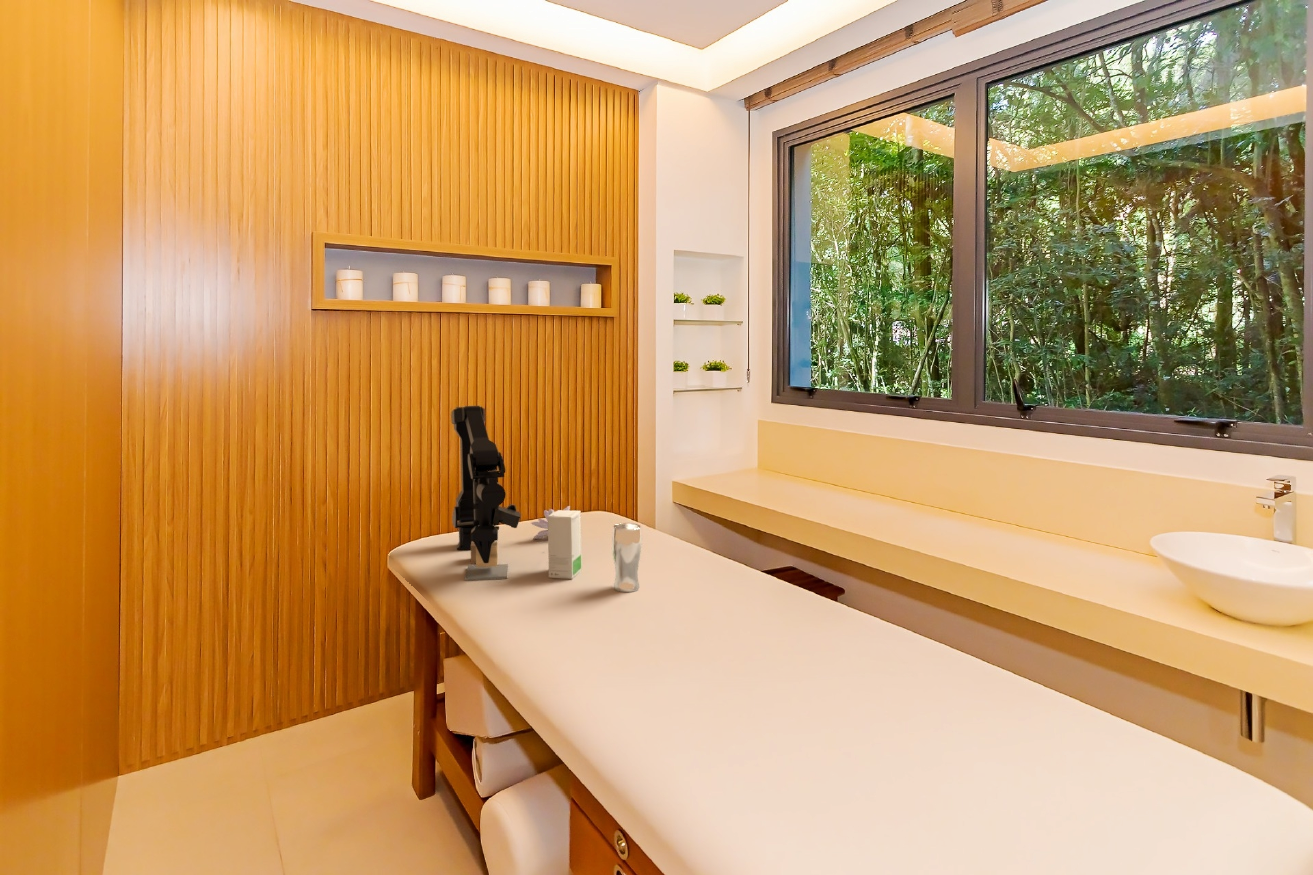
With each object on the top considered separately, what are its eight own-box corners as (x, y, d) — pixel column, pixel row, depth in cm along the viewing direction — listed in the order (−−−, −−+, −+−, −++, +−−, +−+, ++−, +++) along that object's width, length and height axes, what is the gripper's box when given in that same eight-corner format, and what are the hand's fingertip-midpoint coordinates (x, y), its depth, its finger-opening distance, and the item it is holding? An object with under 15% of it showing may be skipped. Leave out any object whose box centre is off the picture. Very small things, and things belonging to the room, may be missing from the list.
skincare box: (572, 579, 177) (571, 517, 175) (546, 577, 178) (545, 516, 176) (582, 569, 185) (582, 509, 183) (557, 567, 186) (557, 508, 184)
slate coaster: (468, 568, 185) (467, 565, 185) (507, 566, 187) (507, 564, 187) (464, 580, 176) (464, 578, 176) (507, 578, 177) (506, 576, 177)
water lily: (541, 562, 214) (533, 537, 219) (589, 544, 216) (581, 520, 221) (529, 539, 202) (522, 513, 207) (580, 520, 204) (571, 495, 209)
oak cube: (477, 561, 183) (477, 541, 182) (497, 560, 184) (497, 541, 183) (476, 567, 178) (475, 547, 178) (497, 566, 179) (496, 546, 178)
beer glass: (611, 583, 175) (611, 522, 173) (640, 582, 175) (640, 522, 173) (612, 593, 168) (612, 530, 166) (642, 592, 169) (642, 529, 167)
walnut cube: (472, 558, 194) (471, 540, 193) (491, 557, 195) (491, 539, 194) (471, 564, 189) (470, 545, 188) (490, 563, 190) (490, 544, 189)
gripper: (518, 506, 171) (519, 569, 173) (518, 490, 189) (519, 547, 192) (469, 507, 169) (471, 572, 171) (475, 491, 187) (476, 549, 190)
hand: (486, 559), depth 181 cm, fingers closed on oak cube, 5 cm apart
